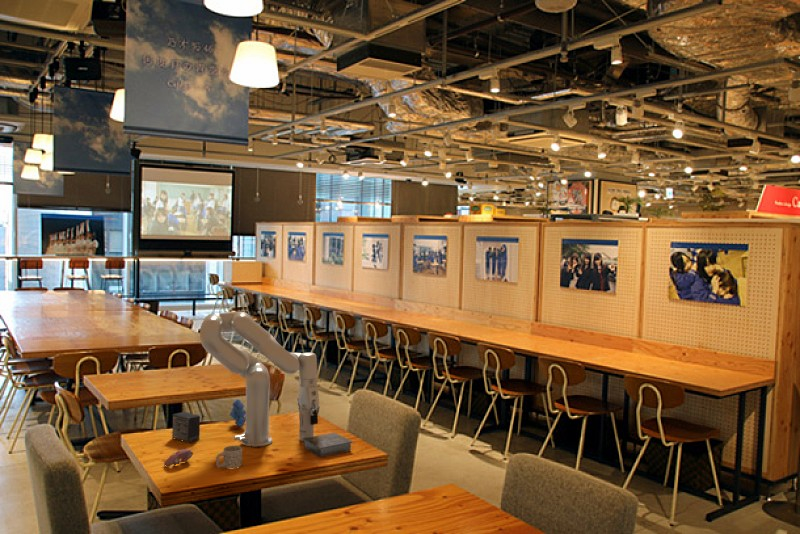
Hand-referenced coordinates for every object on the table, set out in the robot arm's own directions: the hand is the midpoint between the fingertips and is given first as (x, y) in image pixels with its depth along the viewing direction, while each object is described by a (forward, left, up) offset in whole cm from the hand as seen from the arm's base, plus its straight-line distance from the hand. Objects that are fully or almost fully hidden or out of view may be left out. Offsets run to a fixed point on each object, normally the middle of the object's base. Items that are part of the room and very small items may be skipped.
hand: (308, 421), depth 272 cm
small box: (-43, +28, -8) cm, 52 cm away
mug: (-41, -13, -8) cm, 43 cm away
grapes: (-18, +34, -8) cm, 39 cm away
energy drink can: (-1, 0, -8) cm, 8 cm away
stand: (0, -16, -8) cm, 18 cm away
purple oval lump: (-55, 0, -8) cm, 56 cm away
